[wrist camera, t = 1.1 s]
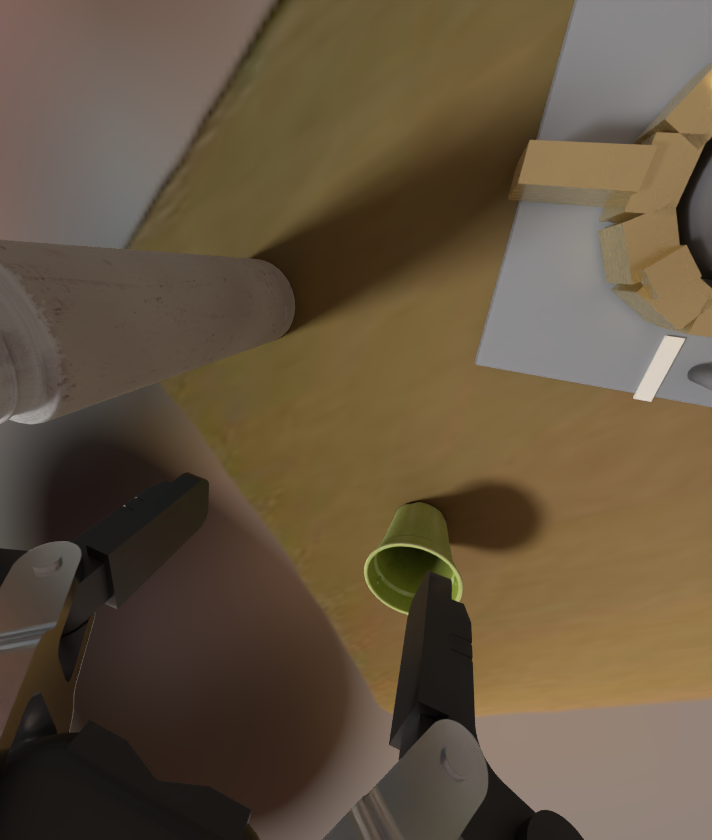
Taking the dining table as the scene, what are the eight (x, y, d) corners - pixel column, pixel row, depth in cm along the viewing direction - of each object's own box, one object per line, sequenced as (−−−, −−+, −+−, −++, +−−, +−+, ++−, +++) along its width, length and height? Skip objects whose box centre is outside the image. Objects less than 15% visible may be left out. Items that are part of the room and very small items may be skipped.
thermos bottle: (223, 327, 36) (-279, 442, 12) (229, 249, 33) (-485, 170, 8) (288, 351, 35) (-113, 532, 10) (302, 272, 31) (-264, 266, 7)
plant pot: (477, 511, 36) (482, 574, 29) (440, 564, 41) (436, 631, 33) (399, 476, 37) (383, 527, 30) (371, 531, 42) (351, 589, 34)
